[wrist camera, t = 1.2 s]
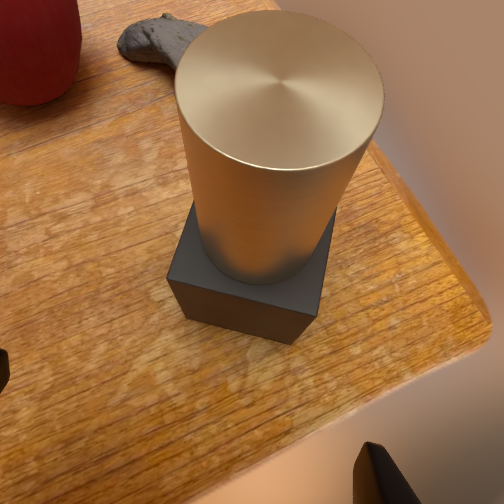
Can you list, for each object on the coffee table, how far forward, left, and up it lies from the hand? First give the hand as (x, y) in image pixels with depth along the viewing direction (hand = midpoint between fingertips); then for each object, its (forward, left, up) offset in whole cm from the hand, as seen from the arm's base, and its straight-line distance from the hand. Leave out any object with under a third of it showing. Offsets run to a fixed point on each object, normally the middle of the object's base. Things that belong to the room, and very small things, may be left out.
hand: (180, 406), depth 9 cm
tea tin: (+8, -3, -6) cm, 11 cm away
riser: (+8, -3, -14) cm, 17 cm away
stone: (+26, +2, -15) cm, 30 cm away
